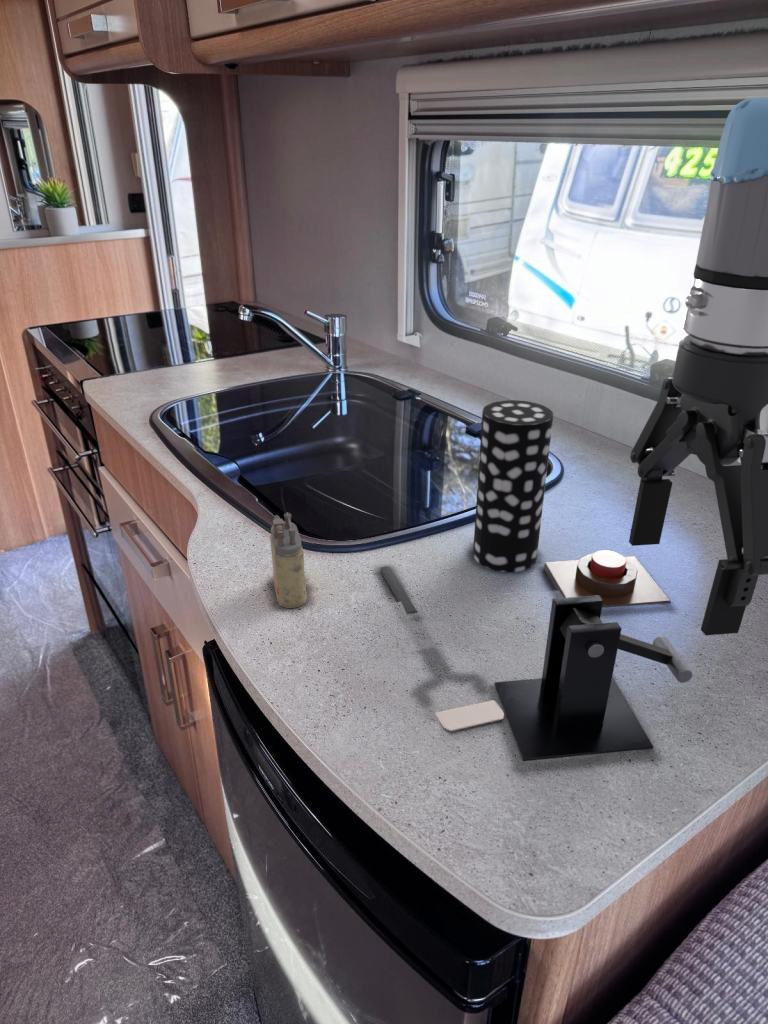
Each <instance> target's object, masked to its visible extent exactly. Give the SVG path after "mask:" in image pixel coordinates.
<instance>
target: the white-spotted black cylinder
mask: <svg viewBox="0 0 768 1024" xmlns="http://www.w3.org/2000/svg"><path fill="white" fill-rule="evenodd" d="M553 422H554V412H553V411H552V410H551V409H550V408H549V407H547V406H545V405H544V404H540V403H537V402H533V401H527V400H517V399H515V400H514V399H511V400H510V399H509V400H508V399H507V400H497V401H493V402H491V403H490V402H489V403H488V404H486V405H485V406H484V407H483V408H482V414H481V426H480V442H479V443H480V444H479V459H478V473H477V487H476V488H477V489H476V502H475V515H474V516H475V517H474V533H473V547H472V556H473V559H475V561H476V562H477V563H478V564H479V565H480V566H483V567H485V568H486V569H488V570H491V571H496V572H501V573H516V572H517V573H518V572H523V571H525V570H528V569H530V568H532V567H533V566H534V565H535V564H536V562H537V559H538V550H539V542H540V534H541V526H542V525H541V524H542V518H543V517H542V516H543V509H544V508H543V507H544V499H545V492H546V491H545V490H546V482H547V473H548V465H549V456H550V447H551V439H552V430H553Z"/></svg>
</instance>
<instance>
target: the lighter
mask: <svg viewBox="0 0 768 1024" xmlns="http://www.w3.org/2000/svg"><path fill="white" fill-rule="evenodd" d="M283 517H284V518H281V517H280V516H279V515H277V514H275V515H274V516H273V519H272V526H271V527H270V536H269V538H270V539H269V540H270V552H271V562H272V563H271V564H272V572H273V586H274V591H275V595H276V600H277V603H278V605H279V606H281V607H283V608H287V609H295V608H299V607H301V606H303V605H304V604H306V602H307V600H308V597H307V591H308V587H307V586H306V572H305V555H304V549H303V545H302V540H301V535H300V533H299V529H298V527H297V524H295V523H294V522H292V514H291V513H290V512H286V513H284V514H283ZM283 519H284V520H283Z"/></svg>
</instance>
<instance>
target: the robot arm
mask: <svg viewBox="0 0 768 1024" xmlns="http://www.w3.org/2000/svg"><path fill="white" fill-rule="evenodd" d="M718 143H719V144H718V147H717V152H716V156H715V160H714V163H713V167H712V169H711V171H710V175H709V181H710V186H709V191H708V197H707V204H706V208H705V213H704V219H703V224H702V228H701V234H700V239H699V246H698V250H697V255H696V260H695V266H694V270H693V279H692V281H691V282H692V283H691V287H690V291H689V295H687V297H686V298H685V302H684V303H685V306H686V312H685V317H684V320H683V326H682V327H683V328H682V329H683V330H684V332H685V333H686V336H684V337H683V338H682V339H681V340H680V341H679V342H678V348H677V352H676V358H675V363H674V366H673V372H672V377H665V378H664V379H663V381H662V383H661V384H662V385H661V388H660V392H659V396H658V399H657V402H656V404H655V406H654V408H653V410H652V412H651V413H650V415H649V417H648V419H647V421H646V423H645V425H644V427H643V428H642V430H641V433H640V434H639V436H638V438H637V440H636V442H635V443H634V445H633V448H632V449H631V451H630V456H629V457H630V458H629V459H630V461H631V463H632V464H637V465H638V467H637V475H638V477H639V478H640V480H639V486H638V492H637V496H636V502H635V508H634V511H633V513H634V514H633V517H632V523H631V528H630V533H629V539H628V543H629V544H630V545H631V546H632V547H635V546H651V545H660V544H661V538H662V534H663V529H664V524H665V519H666V515H667V510H668V505H669V502H670V496H671V491H672V488H673V484H674V483H673V481H672V480H671V479H670V478H663V477H674V476H676V473H675V470H676V468H677V467H679V465H681V464H682V463H683V462H684V461H686V459H687V458H688V457H689V456H690V455H695V456H696V457H697V459H698V460H699V461H700V462H701V463H702V464H703V465H704V468H705V474H706V476H707V478H708V479H709V480H711V481H712V482H713V484H714V489H715V490H714V491H715V496H716V501H717V507H718V512H719V518H720V524H721V531H722V536H723V542H724V547H725V552H726V558H725V559H718V561H717V566H716V570H715V574H714V577H713V581H712V585H711V590H710V593H709V596H708V600H707V604H706V608H705V612H704V615H703V619H702V623H701V627H700V631H701V632H702V634H704V635H705V636H716V635H717V636H718V635H729V634H739V631H740V628H741V625H742V624H741V623H742V621H743V617H744V614H745V611H746V607H747V606H749V605H750V604H751V602H752V600H753V596H754V593H755V589H756V586H757V583H758V579H759V576H763V575H764V576H766V575H768V431H767V432H766V431H764V430H762V429H761V412H762V410H764V408H765V407H767V405H768V96H764V97H763V96H762V97H750V98H745V99H744V100H741V101H740V102H738V103H737V104H735V105H734V106H733V108H731V110H730V112H729V113H728V115H727V118H726V121H725V124H724V127H723V131H722V134H721V135H720V140H719V142H718ZM739 459H740V464H735V465H734V463H736V461H738V460H739ZM732 464H733V465H732Z"/></svg>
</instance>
